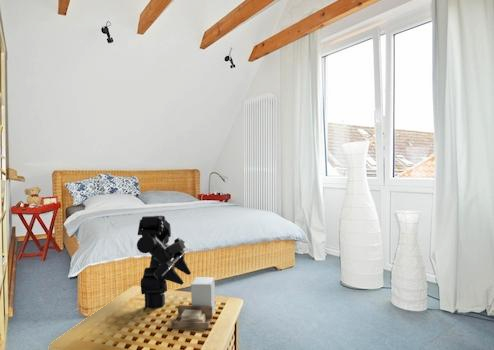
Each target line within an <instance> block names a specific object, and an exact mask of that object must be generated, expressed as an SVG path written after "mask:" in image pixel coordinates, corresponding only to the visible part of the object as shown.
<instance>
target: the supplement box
mask: <svg viewBox="0 0 494 350" xmlns="http://www.w3.org/2000/svg"><path fill="white" fill-rule="evenodd" d="M215 285H216V283H215V277H214V276H213V277H212V276H209V277H208V276H195V278H194V279H193V281H192V282H191V283H190V290H191V293H190V294H191V295H190V296H191V297H190V298H191V306H212V316H213V314H214V312H215V309H216V294H215V293H216V291H215V290H216V286H215Z"/></svg>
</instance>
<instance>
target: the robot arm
mask: <svg viewBox="0 0 494 350" xmlns="http://www.w3.org/2000/svg"><path fill="white" fill-rule="evenodd" d="M138 224H139V226H138V229H137V236H141V237H140V238H139V239H138V240H137V242H136V248H137V250H138V252H139V253H141V254H150V256H151V257H150V262H149V266H148V267H145V268H144V271H143V275H142V278H141V279H140V290H141V295H144V307H143V311H144V312H145V311H146V310H147V309H157V308H158V309H159V308H163V307H164V306H165V304H166V297H165V293H166V292H167V291H168V285H167V281H170V282H171V283H174V284H175V283H176V284H178V285H184V284H185V283H184V281H183V280H182V278H181V276H180V275H179V274H178V273H177V272H176V269H177V270H178V271H180V272H182V273H183V274H186V275H188V276H190V275H191V274H192V273H191V271H190V269H189V267H188V264H187V263H186V261H185V256H186V254H185V250H184V249H185V248H186V245H185V241H184V240H183V239H182V238H180V237H177V238H175V239H174V241H173V243H171V244H170V245H169V244H168V243H169V241H170V238H171V237H172V230H171V229H172V228H171V223H169V222H168V221H167V220H166V216H164V215H153V216H152V215H150V216H149V215H148V216H147V215H146V216H145V215H144V216H142V217H141V219H139V222H138Z"/></svg>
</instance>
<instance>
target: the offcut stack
mask: <svg viewBox="0 0 494 350" xmlns="http://www.w3.org/2000/svg"><path fill="white" fill-rule="evenodd" d="M205 320H206V317H205V314H204V313H202V310H184V311H183V313H182V315H181V320H180V321H190V322H205Z"/></svg>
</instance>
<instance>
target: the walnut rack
mask: <svg viewBox="0 0 494 350" xmlns="http://www.w3.org/2000/svg"><path fill="white" fill-rule="evenodd" d="M184 310H202V313H204V314H205V317H206V320H205V322H190V321H180V320H181V315H182V313H183V311H184ZM212 319H213V315H212V306H192V305H183V304H182V305H180V304H179V305H178V306H177V319H176V320H172V322H171V329H183V330H184V329H186V330H208V329H209V328H210V325H211V323H212Z"/></svg>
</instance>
